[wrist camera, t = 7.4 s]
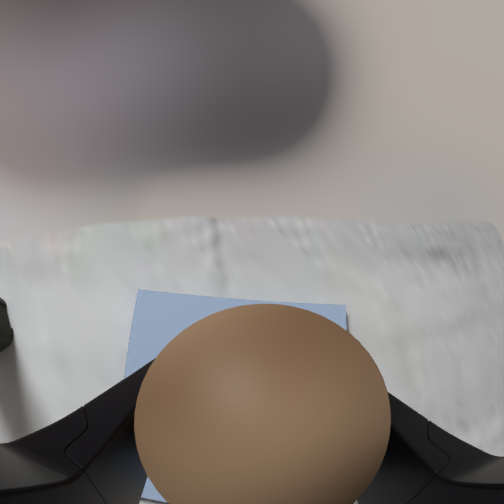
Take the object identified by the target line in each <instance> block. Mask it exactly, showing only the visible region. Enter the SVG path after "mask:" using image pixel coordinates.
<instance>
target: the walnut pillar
mask: <svg viewBox="0 0 504 504" xmlns="http://www.w3.org/2000/svg"><path fill="white" fill-rule="evenodd" d="M390 426H391V412H390V403H389V397H388V392H387V389H386V386H385V383H384V380H383V377H382V375H381V373H380V371H379V369H378V367H377V365H376V363H375V362H374V360H373V359H372V357H371V356H370V354H369V353H368V352H367V350H366V349H365V348H364V347H363V346H362V345H361V343H360V342H359V341H358V340H357V339H355V338H354V337H353V336H352V335H351V334H350V333H349V332H348V331H346V330H345V329H343V328H342V327H341V326H339V325H338V324H336V323H335V322H333V321H331V320H329V319H327V318H325V317H323V316H322V315H319V314H316V313H314V312H311V311H309V310H305V309H301V308H297V307H294V306H288V305H280V304H251V305H242V306H237V307H233V308H229V309H225V310H222V311H219V312H216V313H214V314H211V315H209V316H207V317H205V318H203V319H201V320H199V321H197V322H195V323H193V324H192V325H190V326H189V327H187V328H186V329H184V330H183V331H182V332H180V333H179V334H178V335H177V336H176V337H175V338H173V339H172V340H171V341H170V342H169V343H168V344H167V345H166V346H165V347H164V349H163V350H162V351H161V352H160V353H159V354H158V356H157V357H156V359H155V360H154V362H153V363H152V365H151V366H150V367H149V369H148V371H147V374H146V376H145V378H144V380H143V382H142V384H141V388H140V391H139V394H138V397H137V402H136V408H135V416H134V432H135V440H136V446H137V450H138V453H139V457H140V460H141V463H142V465H143V467H144V469H145V472H146V474H147V476H148V478H149V479H150V481H151V482H152V484H153V485H154V487H155V488H156V490H157V491H158V492H159V493H160V495H161V496H162V497H163V498H164V499H165V500H166V501H167V503H169V504H353V503H354V502H355V501H356V500H357V499H358V498H359V497H360V496H361V495H362V494H363V493H364V491H365V490H366V489H367V487H368V486H369V485H370V483H371V482H372V480H373V479H374V477H375V475H376V473H377V472H378V470H379V468H380V466H381V463H382V461H383V458H384V456H385V453H386V450H387V445H388V441H389V436H390Z"/></svg>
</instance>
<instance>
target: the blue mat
mask: <svg viewBox="0 0 504 504" xmlns="http://www.w3.org/2000/svg"><path fill="white" fill-rule="evenodd" d="M251 304H280V305H288V306H294V307H297V308H301V309H305V310H309V311H311V312H314V313H316V314H319V315H322V316H323V317H325V318H327V319H329V320H331V321H333V322H335V323H336V324H338V325H339V326H341V327H342V328H343V329H345V330H346V331H347V325H346V307H345V305H333V304H310V303H291V302H274V301H259V300H245V299H232V298H220V297H208V296H197V295H187V294H177V293H167V292H158V291H149V290H140V289H138V294H137V299H136V304H135V310H134V315H133V321H132V327H131V333H130V339H129V345H128V352H127V359H126V367H125V375H124V379H125V378H126V377H128V376H129V375H131V374H132V373H134V372H135V371H137V370H138V369H140V368H141V367H143V366H144V365H146V364H147V363H149V362H150V361H152V360H153V359H154V358H156V357H157V356H158V354H159V353H160V352H161V351H162V350H163V349H164V347H165V346H166V345H167V344H168V343H169V342H170V341H171V340H172V339H173V338H175V337H176V336H177V335H178V334H179V333H180V332H182V331H183V330H184V329H186V328H187V327H189V326H190V325H192V324H193V323H195V322H197V321H199V320H201V319H203V318H205V317H207V316H209V315H211V314H214V313H216V312H219V311H222V310H225V309H229V308H233V307H237V306H242V305H251ZM141 497H142V498H147V499H151V500H156V501H161V502H167V501H166V500H165V499H164V498H163V497H162V496H161V495H160V493H159V492H158V491H157V490H156V488H155V487H154V485H153V484H152V482H151V481H150V479H149V478H148V477H147V480H146V483H145V486H144V490H143V493H142V496H141Z"/></svg>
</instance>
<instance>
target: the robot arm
mask: <svg viewBox="0 0 504 504" xmlns="http://www.w3.org/2000/svg"><path fill="white" fill-rule="evenodd" d="M155 359H156V358H154V359H153V360H152V361H150V362H149V363H147V364H146V365H144V366H143V367H141V368H140V369H138V370H137V371H135V372H134V373H132V374H131V375H129V376H128V377H126V378H125V379H123V380H122V381H120V382H119V383H117V384H116V385H114V386H113V387H111V388H110V389H108V390H107V391H105V392H104V393H102V394H101V395H99V396H98V397H96V398H95V399H93V400H91V401H90V402H88V403H87V404H85V405H84V406H82V407H80V408H79V409H77V410H76V411H74V412H72V413H71V414H69V415H67V416H66V417H64V418H62V419H61V420H59V421H57V422H55V423H53V424H51V425H49V426H47V427H45V428H42V429H40V430H38V431H36V432H34V433H31V434H29V435H27V436H25V437H23V438H20V439H18V440H15V441H13V442H9V443H3V444H0V504H139V502H140V499H141V496H142V493H143V490H144V486H145V483H146V480H147V477H148V476H147V474H146V472H145V469H144V467H143V465H142V463H141V460H140V457H139V453H138V450H137V446H136V440H135V432H134V416H135V408H136V402H137V397H138V394H139V391H140V388H141V384H142V382H143V380H144V378H145V376H146V374H147V371H148V369H149V367H150V366H151V365H152V363H153V362H154V360H155ZM388 397H389V403H390V412H391V426H390V436H389V441H388V445H387V450H386V453H385V456H384V458H383V461H382V463H381V466H380V468H379V470H378V472H377V473H376V475H375V477H374V479H373V480H372V482H371V483H370V485H369V486H368V487H367V489H366V490H365V491H364V493H363V494H362V495H361V496H360V497H359V498H358V499H357V501H358V504H504V457H499V456H494V455H490V454H488V453H486V452H484V451H482V450H480V449H478V448H476V447H474V446H472V445H470V444H468V443H466V442H464V441H462V440H460V439H458V438H457V437H455V436H453V435H451V434H449V433H448V432H446V431H445V430H443V429H441V428H440V427H438V426H437V425H435V424H434V423H432V422H431V421H428V419H426V418H425V417H423V416H422V415H420V414H419V413H417V412H416V411H415V410H413V409H412V408H410V407H409V406H407V405H406V404H404V403H403V402H402V401H400V400H399V399H397V398H396V397H394V396H393V395H391V394H390V393H389V392H388Z"/></svg>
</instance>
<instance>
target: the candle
mask: <svg viewBox="0 0 504 504" xmlns="http://www.w3.org/2000/svg"><path fill="white" fill-rule="evenodd" d="M5 307H6V303H5V301H4V300H3V299H1V298H0V352H1V351H2V350H3V349H5V348H6V347H7V346H9V345H10V343H11V341H12V338H13V330H12V328H10V324H9V320H8V316H7V312H6V308H5Z"/></svg>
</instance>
